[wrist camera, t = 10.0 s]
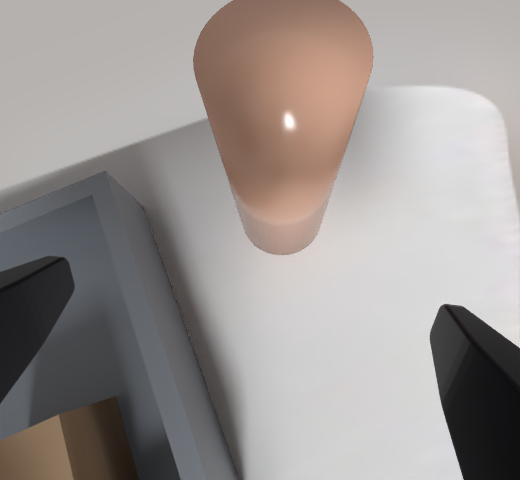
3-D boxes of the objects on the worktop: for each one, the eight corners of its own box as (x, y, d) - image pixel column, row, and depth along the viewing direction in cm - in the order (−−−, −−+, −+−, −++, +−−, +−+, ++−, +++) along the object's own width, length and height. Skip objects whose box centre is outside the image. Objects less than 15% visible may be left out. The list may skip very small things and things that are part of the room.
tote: (247, 502, 18) (234, 561, 13) (-13, 626, 17) (-127, 736, 12) (142, 206, 23) (105, 170, 18) (-62, 292, 22) (-157, 279, 18)
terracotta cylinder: (335, 234, 22) (408, 86, 9) (261, 268, 21) (234, 160, 9) (299, 169, 23) (321, -36, 11) (230, 199, 23) (169, 24, 10)
